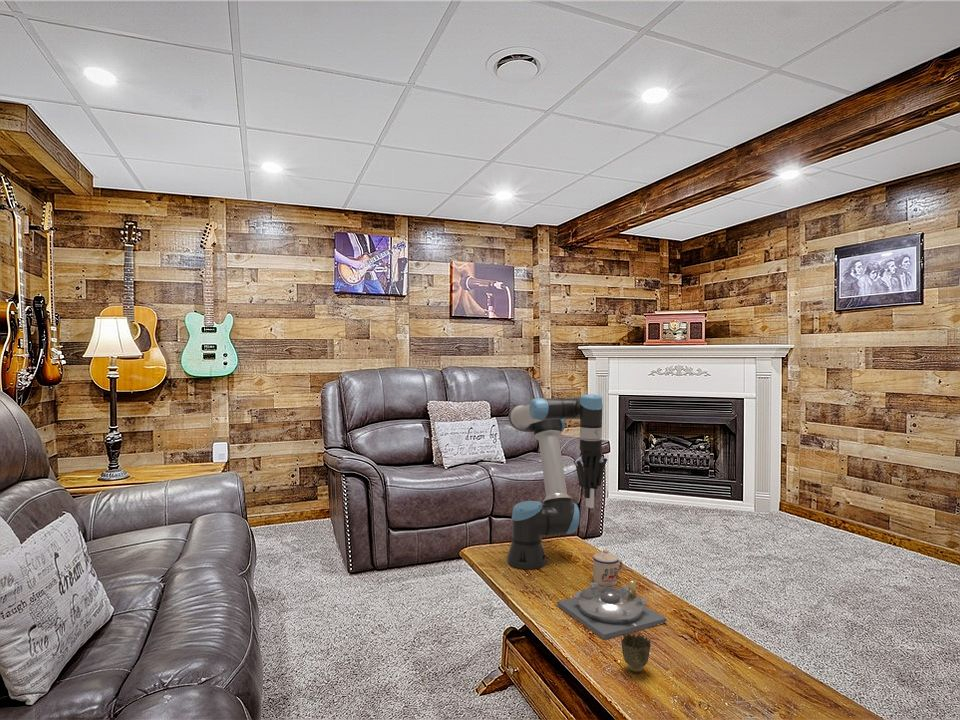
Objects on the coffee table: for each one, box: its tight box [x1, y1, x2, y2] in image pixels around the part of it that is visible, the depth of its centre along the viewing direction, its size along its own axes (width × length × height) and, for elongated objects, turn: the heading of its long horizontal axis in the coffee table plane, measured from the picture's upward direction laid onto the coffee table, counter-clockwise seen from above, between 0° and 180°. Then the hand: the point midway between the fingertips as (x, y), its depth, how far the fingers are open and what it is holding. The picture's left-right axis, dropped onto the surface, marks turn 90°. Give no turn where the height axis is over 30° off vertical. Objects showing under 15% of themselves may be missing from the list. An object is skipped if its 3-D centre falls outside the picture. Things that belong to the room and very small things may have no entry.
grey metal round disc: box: [574, 578, 648, 624], centre depth 179 cm, size 20×22×8 cm
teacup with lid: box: [592, 548, 624, 587], centre depth 205 cm, size 12×9×12 cm
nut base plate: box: [556, 596, 667, 641], centre depth 179 cm, size 24×24×2 cm
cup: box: [620, 633, 651, 674], centre depth 148 cm, size 8×7×8 cm
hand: (589, 506), depth 196 cm, fingers closed
